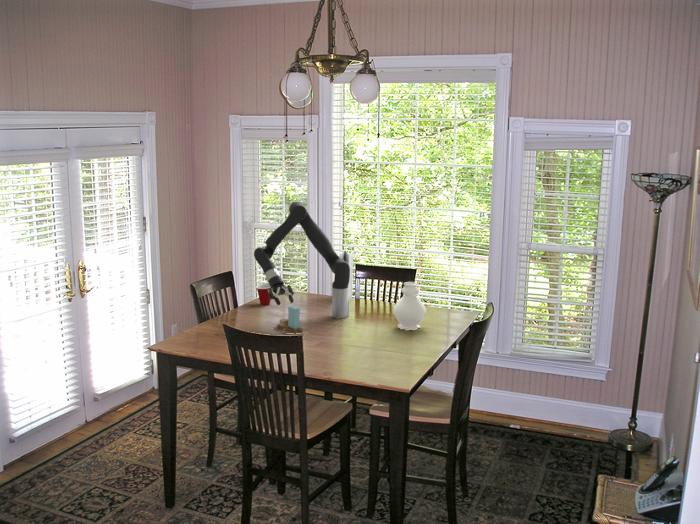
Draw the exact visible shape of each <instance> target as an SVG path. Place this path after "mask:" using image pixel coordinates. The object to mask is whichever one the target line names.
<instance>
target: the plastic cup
mask: <svg viewBox="0 0 700 524" xmlns="http://www.w3.org/2000/svg"><path fill="white" fill-rule="evenodd" d="M255 288H256V290H257V296H258V299H259V305H260V306H262V307H263V306H264V307H266V306H270V304H271V301H272V300H271V299H270V296H269V294H268V292H267V291H268V289H269V288H271V287H270V285H269V283H265V284H263V283H262V284H259V285H256V286H255Z"/></svg>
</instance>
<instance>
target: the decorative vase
mask: <svg viewBox="0 0 700 524" xmlns="http://www.w3.org/2000/svg"><path fill="white" fill-rule="evenodd" d="M403 285H404V286H403V288H402V289H401V292H402V294H403V296H402V297H401V298H399V300H398V301H397V302H396V303H395V305H394V307H393V315H394V317H395V318H396V320H397V322H399V324H398V325H397V328H398V329H399V328H400V330H402V329H405V330H404V331H409V330H413V331H415V330H414V329H418V328H419V327H420V328H421V325H419V324H420V323H421V322H422V321H423V319H425V317H426V314H427V310H426V309H427V308H426V307H425V304H424V303H423V302H422V300H421V299H420V298H419V297H418V296H417V295H418V294H419V293H420V290H419V287H417V286H418V282H414V281H405V282H403ZM418 330H419V329H418Z"/></svg>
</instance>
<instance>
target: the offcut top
mask: <svg viewBox="0 0 700 524" xmlns="http://www.w3.org/2000/svg"><path fill="white" fill-rule="evenodd" d="M279 323H280V324H282V325H287V324H288V318H286V317H285V318H282V319H279Z"/></svg>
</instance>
